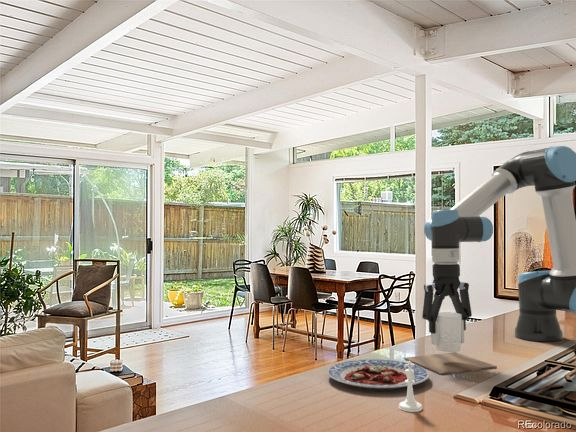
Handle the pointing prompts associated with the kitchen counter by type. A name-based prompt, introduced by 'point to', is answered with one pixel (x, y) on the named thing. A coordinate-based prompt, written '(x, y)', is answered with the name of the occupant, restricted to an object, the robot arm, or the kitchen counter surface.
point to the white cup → (449, 331)
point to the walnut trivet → (449, 363)
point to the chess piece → (410, 393)
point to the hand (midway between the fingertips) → (447, 343)
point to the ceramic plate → (376, 373)
